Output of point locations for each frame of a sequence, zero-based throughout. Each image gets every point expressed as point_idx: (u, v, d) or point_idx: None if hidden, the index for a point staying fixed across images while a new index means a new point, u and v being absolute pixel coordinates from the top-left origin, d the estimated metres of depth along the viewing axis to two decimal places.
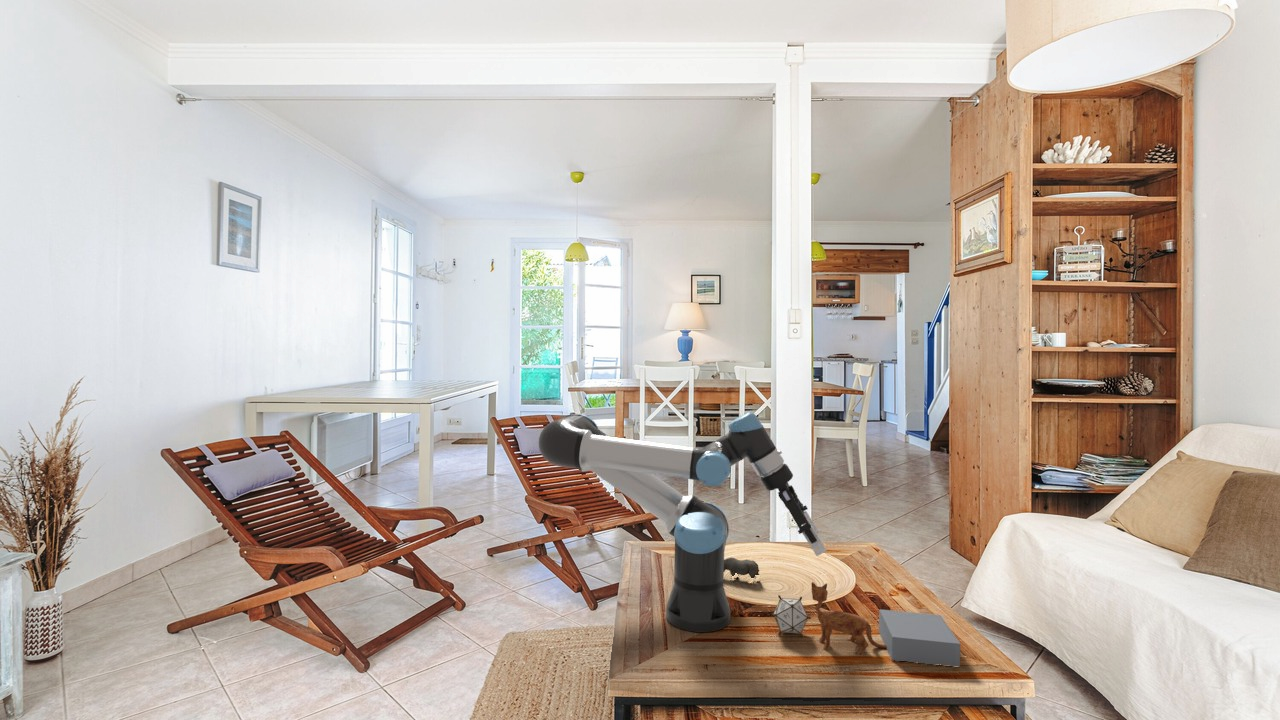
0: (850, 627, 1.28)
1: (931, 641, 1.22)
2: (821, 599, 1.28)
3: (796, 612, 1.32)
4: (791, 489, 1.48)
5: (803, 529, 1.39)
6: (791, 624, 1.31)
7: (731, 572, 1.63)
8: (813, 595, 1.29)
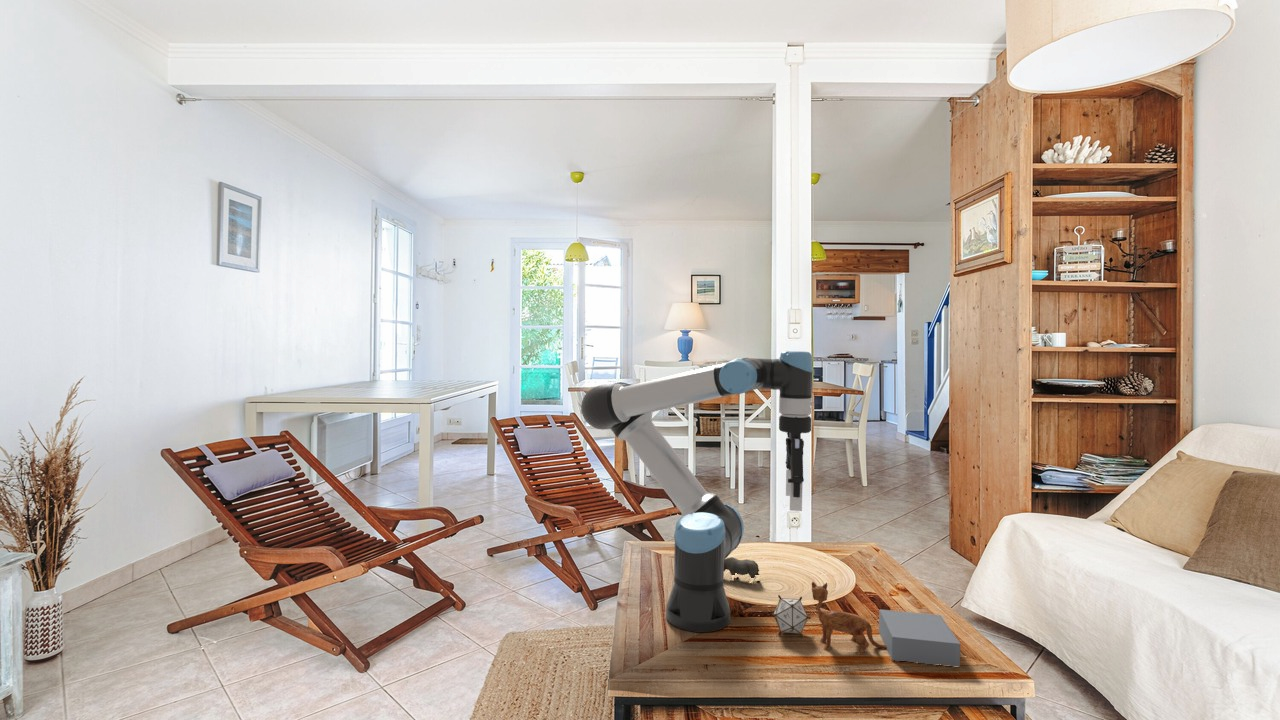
0: (850, 627, 1.28)
1: (931, 641, 1.22)
2: (821, 598, 1.29)
3: (796, 612, 1.32)
4: None
5: (795, 480, 1.35)
6: (791, 624, 1.31)
7: (731, 572, 1.63)
8: (813, 594, 1.30)
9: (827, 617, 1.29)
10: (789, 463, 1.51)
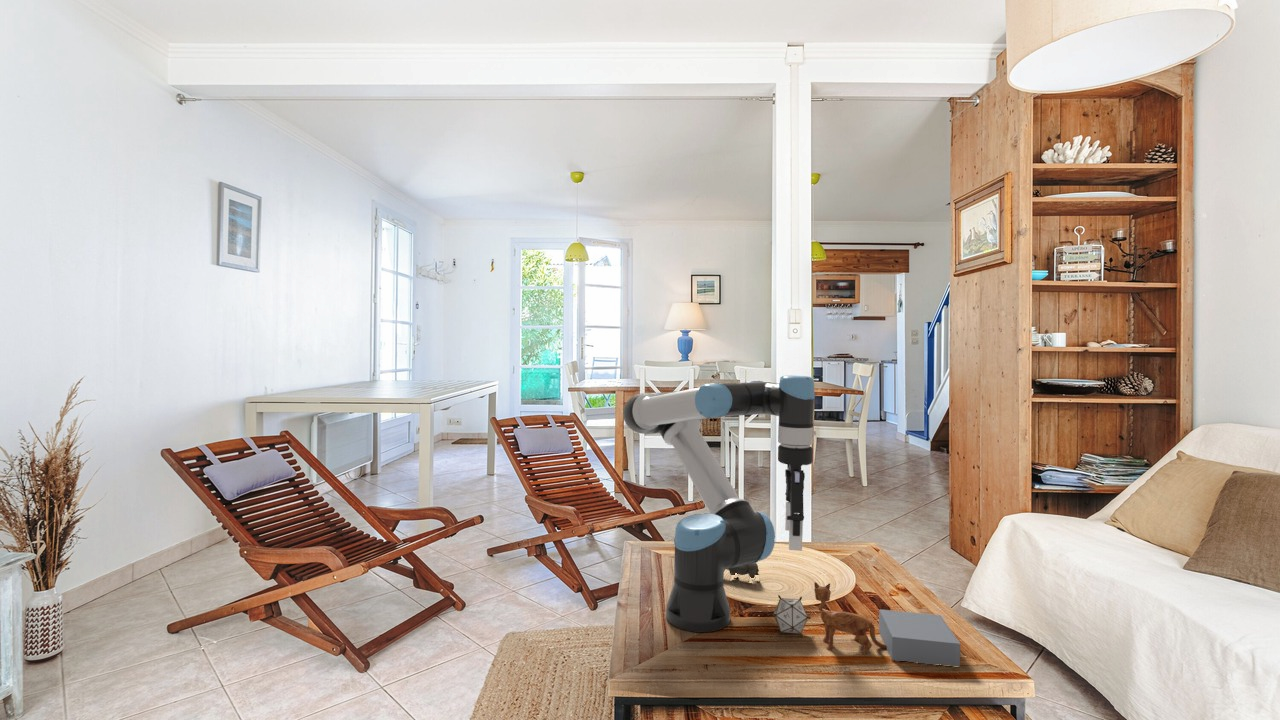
0: (853, 627, 1.28)
1: (931, 641, 1.22)
2: (824, 599, 1.29)
3: (796, 612, 1.32)
4: (802, 474, 1.32)
5: (795, 517, 1.24)
6: (791, 624, 1.31)
7: (731, 572, 1.64)
8: (816, 595, 1.29)
9: (830, 617, 1.29)
10: (789, 495, 1.40)
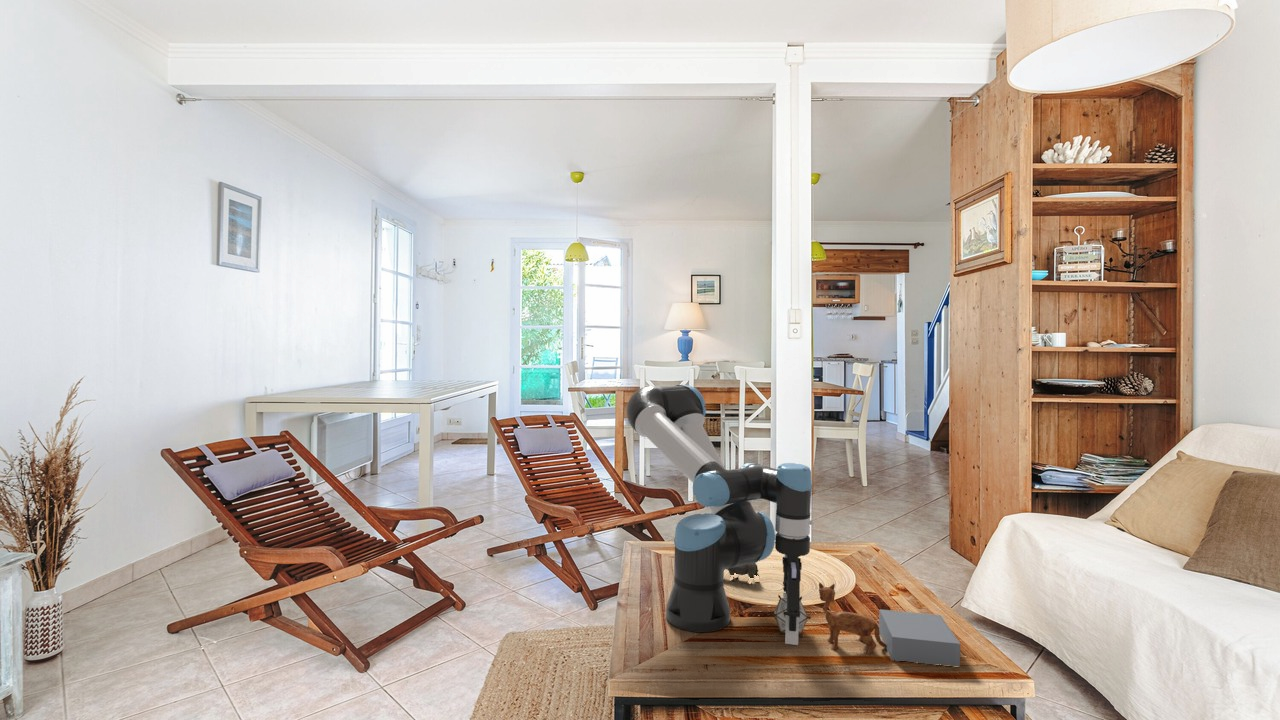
0: (858, 628, 1.28)
1: (931, 641, 1.22)
2: (829, 599, 1.29)
3: None
4: (799, 564, 1.32)
5: (791, 614, 1.26)
6: None
7: (730, 572, 1.64)
8: (820, 595, 1.29)
9: (834, 618, 1.29)
10: (786, 585, 1.39)
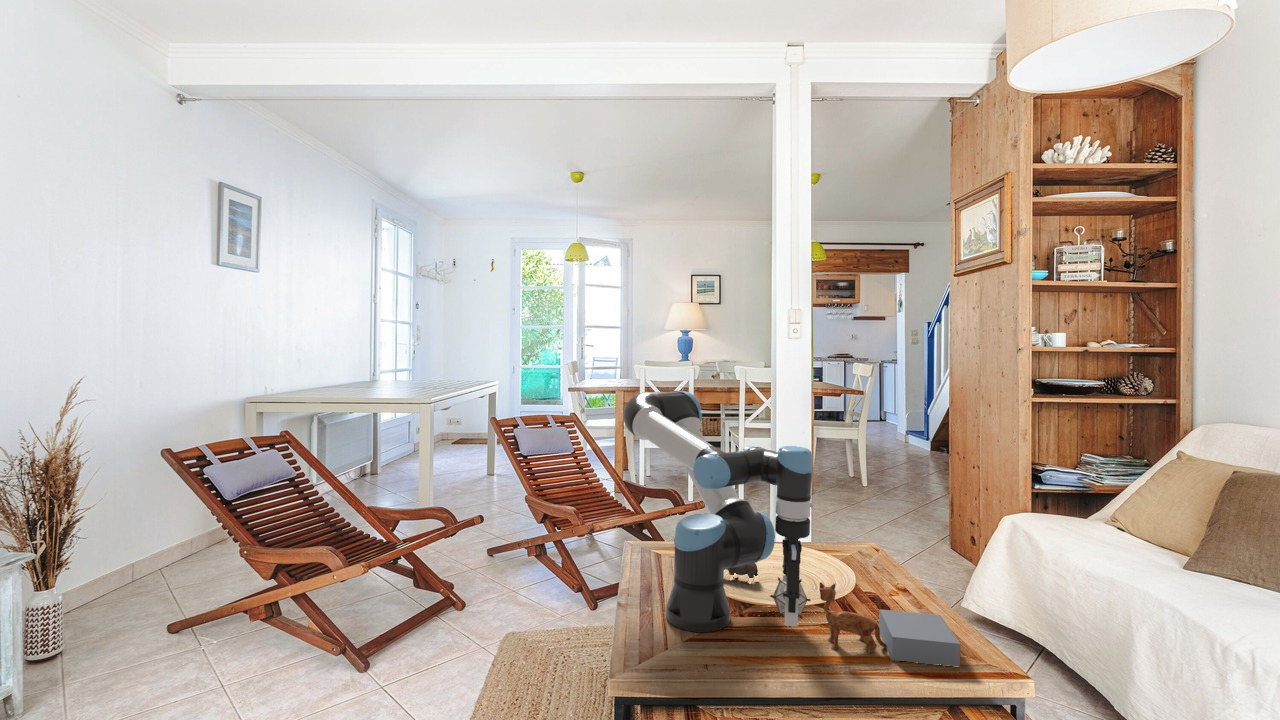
0: (858, 628, 1.28)
1: (931, 641, 1.22)
2: (829, 599, 1.29)
3: None
4: (799, 547, 1.32)
5: (791, 596, 1.26)
6: None
7: (730, 572, 1.64)
8: (821, 595, 1.30)
9: (835, 618, 1.29)
10: (786, 568, 1.39)
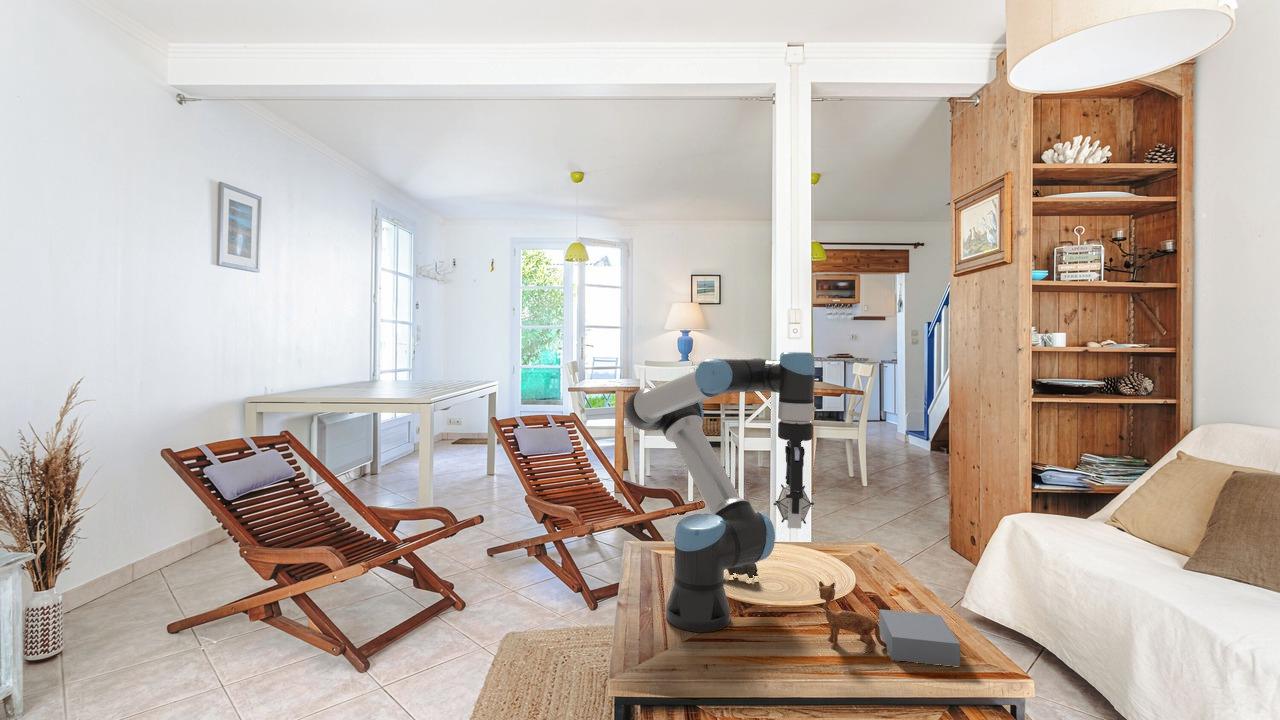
0: (857, 627, 1.29)
1: (931, 641, 1.22)
2: (828, 598, 1.29)
3: None
4: (802, 450, 1.31)
5: (794, 495, 1.26)
6: None
7: (729, 571, 1.64)
8: (820, 594, 1.30)
9: (834, 616, 1.29)
10: (789, 477, 1.39)
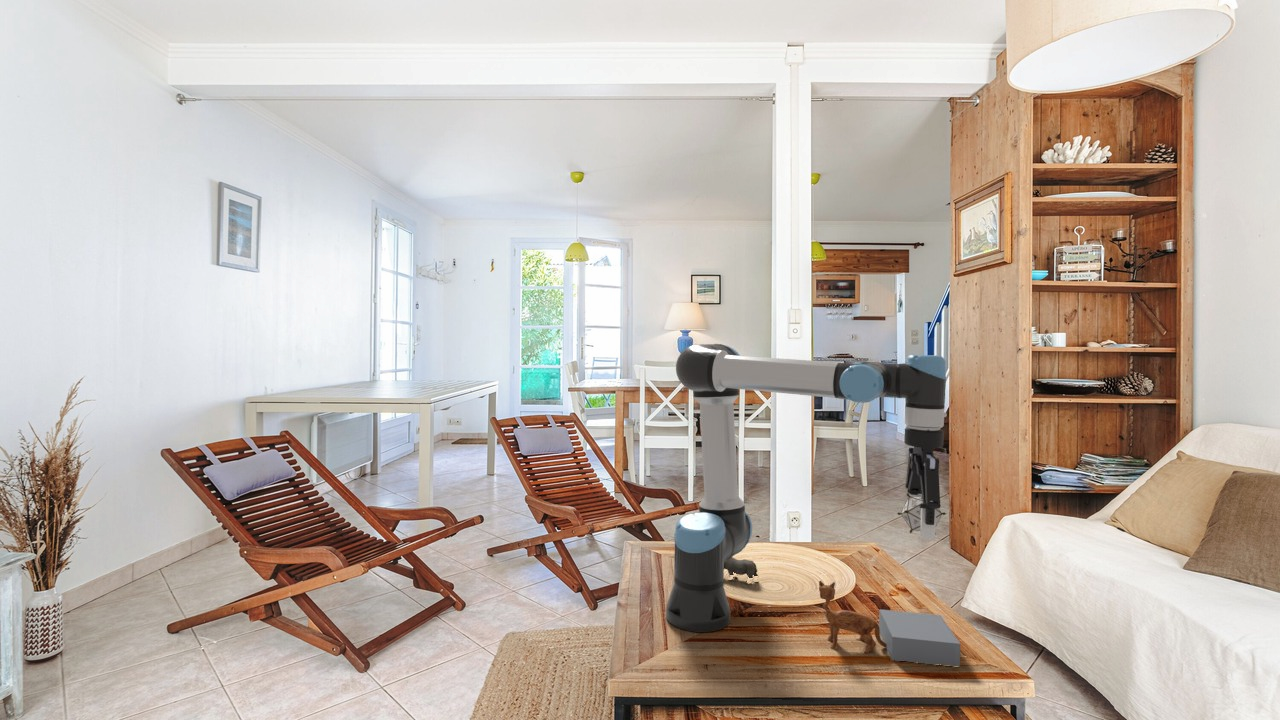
0: (857, 626, 1.29)
1: (931, 641, 1.22)
2: (828, 597, 1.29)
3: None
4: (933, 458, 1.26)
5: (931, 505, 1.20)
6: None
7: (729, 571, 1.64)
8: (820, 593, 1.30)
9: (834, 616, 1.29)
10: (912, 485, 1.33)
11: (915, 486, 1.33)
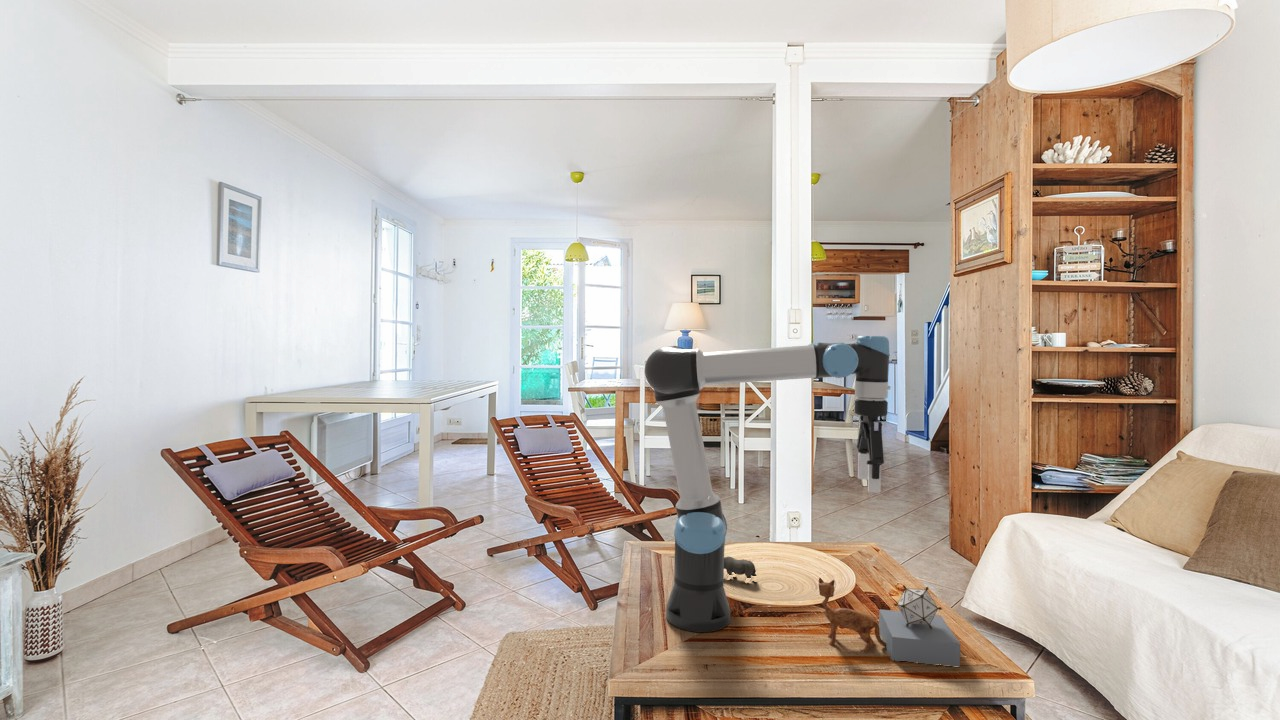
0: (856, 625, 1.29)
1: (931, 641, 1.22)
2: (827, 595, 1.31)
3: (926, 603, 1.26)
4: None
5: (876, 461, 1.37)
6: (921, 615, 1.25)
7: (727, 571, 1.64)
8: (820, 590, 1.32)
9: (833, 613, 1.31)
10: (862, 447, 1.53)
11: (864, 447, 1.53)
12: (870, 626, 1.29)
